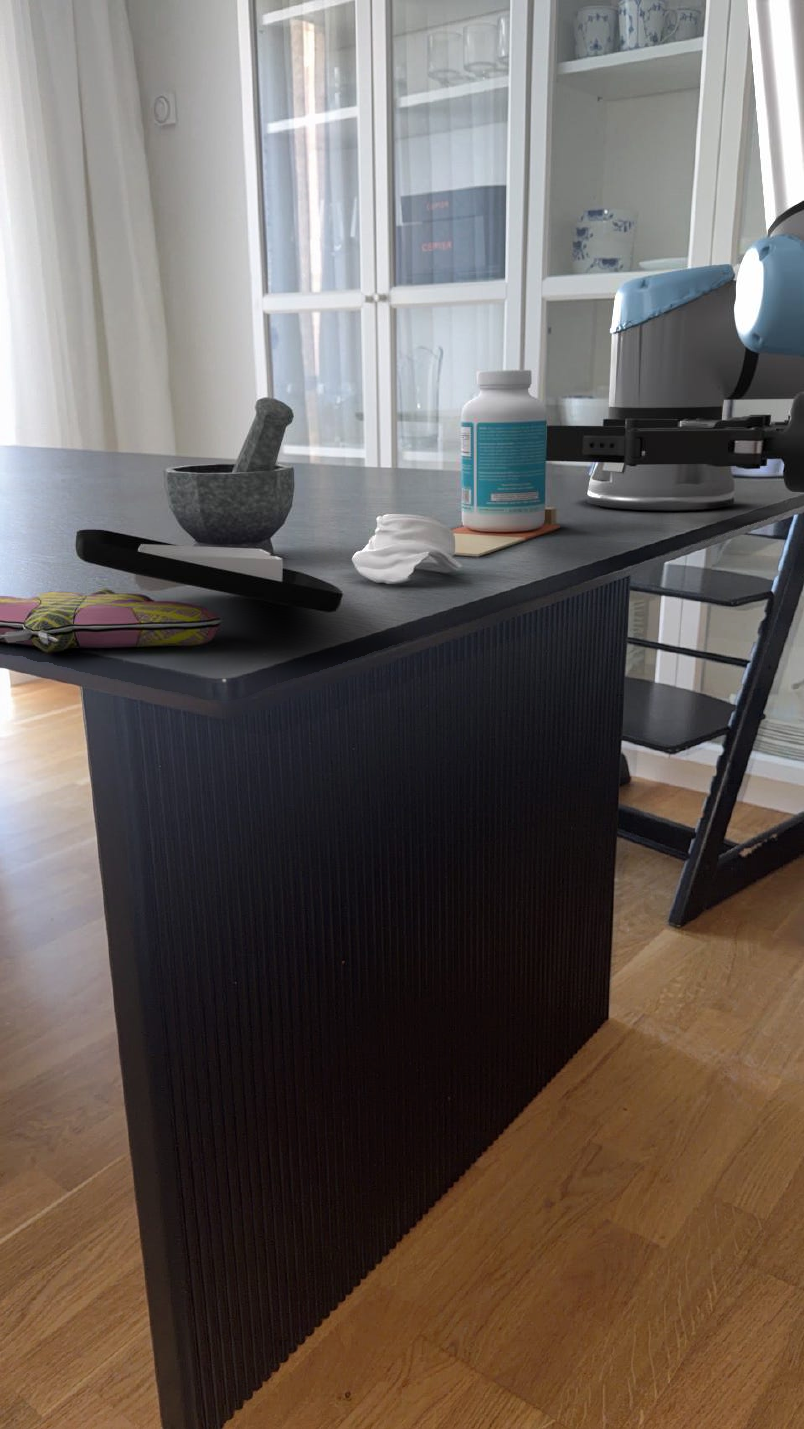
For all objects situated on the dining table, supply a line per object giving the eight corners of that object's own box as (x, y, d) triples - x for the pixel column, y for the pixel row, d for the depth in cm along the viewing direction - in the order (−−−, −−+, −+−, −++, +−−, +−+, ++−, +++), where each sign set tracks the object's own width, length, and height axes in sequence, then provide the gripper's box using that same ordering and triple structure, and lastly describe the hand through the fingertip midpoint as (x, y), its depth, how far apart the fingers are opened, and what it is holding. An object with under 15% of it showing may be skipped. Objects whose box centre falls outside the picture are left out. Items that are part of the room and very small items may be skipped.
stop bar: (496, 521, 101) (497, 504, 101) (556, 525, 99) (556, 507, 98) (490, 523, 100) (491, 506, 100) (550, 527, 97) (551, 509, 97)
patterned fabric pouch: (251, 587, 59) (182, 631, 50) (253, 625, 60) (185, 675, 50) (-21, 579, 62) (-134, 619, 53) (-16, 615, 63) (-126, 660, 53)
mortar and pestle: (144, 561, 81) (130, 398, 78) (231, 546, 88) (222, 395, 85) (250, 576, 75) (240, 398, 71) (335, 558, 82) (330, 396, 78)
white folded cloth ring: (335, 589, 75) (324, 520, 73) (402, 567, 79) (393, 502, 77) (415, 595, 69) (406, 521, 68) (483, 572, 73) (475, 501, 72)
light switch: (54, 578, 48) (352, 638, 51) (65, 514, 47) (365, 578, 51) (86, 557, 67) (302, 602, 70) (94, 511, 66) (311, 559, 70)
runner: (480, 523, 101) (480, 521, 101) (560, 527, 97) (560, 525, 97) (388, 550, 86) (388, 547, 85) (478, 556, 82) (478, 554, 82)
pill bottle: (561, 527, 95) (566, 369, 91) (509, 536, 90) (512, 369, 86) (496, 521, 100) (497, 370, 96) (444, 529, 95) (443, 371, 91)
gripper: (813, 511, 71) (518, 498, 81) (860, 479, 92) (621, 472, 102) (825, 394, 69) (521, 395, 78) (870, 388, 89) (625, 390, 99)
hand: (577, 438), depth 90 cm, fingers open, 13 cm apart
